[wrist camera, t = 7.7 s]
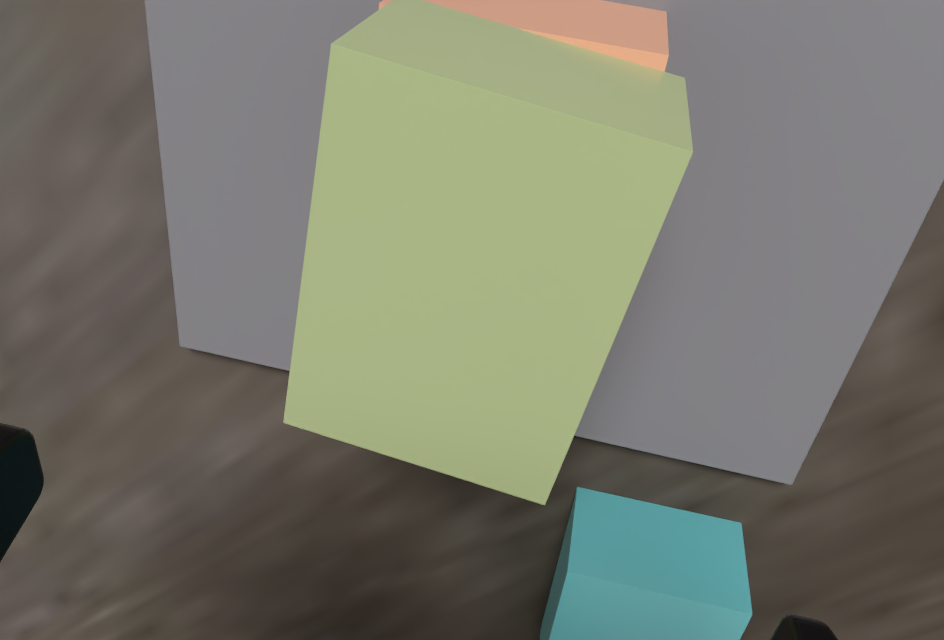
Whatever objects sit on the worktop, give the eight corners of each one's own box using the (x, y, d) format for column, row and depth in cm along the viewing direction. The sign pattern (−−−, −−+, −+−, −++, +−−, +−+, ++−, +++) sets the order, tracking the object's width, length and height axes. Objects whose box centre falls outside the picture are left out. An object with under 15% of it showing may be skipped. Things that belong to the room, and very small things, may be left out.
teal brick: (681, 653, 28) (684, 750, 25) (542, 619, 28) (529, 712, 25) (740, 517, 24) (752, 614, 21) (577, 481, 24) (567, 571, 22)
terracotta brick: (593, 300, 20) (583, 382, 17) (402, 259, 20) (360, 333, 17) (666, 11, 16) (669, 54, 13) (427, -31, 16) (379, 2, 14)
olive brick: (563, 388, 17) (544, 504, 14) (345, 320, 17) (283, 422, 14) (684, 77, 13) (693, 152, 10) (401, -7, 13) (331, 43, 10)
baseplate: (788, 470, 22) (791, 484, 22) (189, 335, 24) (179, 346, 23) (1117, -205, 13) (1135, -206, 13) (126, -347, 15) (108, -351, 15)
